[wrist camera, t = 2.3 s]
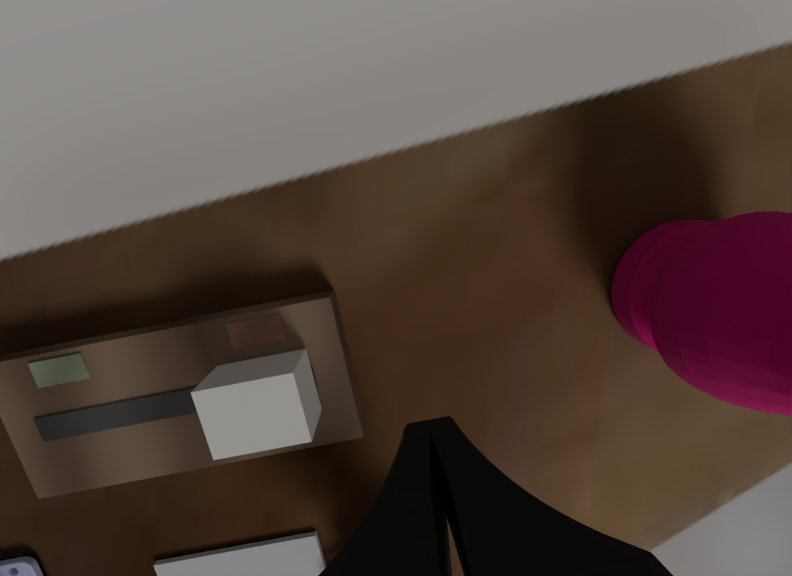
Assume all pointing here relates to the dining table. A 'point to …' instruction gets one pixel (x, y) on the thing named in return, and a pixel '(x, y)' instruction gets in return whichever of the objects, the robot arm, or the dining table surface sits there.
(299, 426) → the switch tab
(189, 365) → the switch board
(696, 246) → the pepper mill
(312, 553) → the parts mat
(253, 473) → the dining table surface
